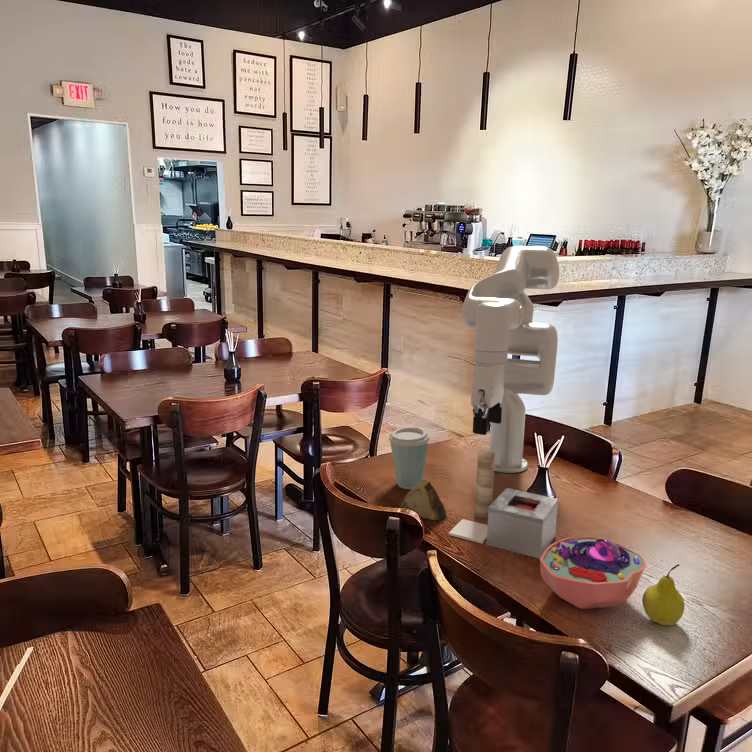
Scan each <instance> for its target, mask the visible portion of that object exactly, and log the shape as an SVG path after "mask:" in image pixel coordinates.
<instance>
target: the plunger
mask: <svg viewBox="0 0 752 752" xmlns="http://www.w3.org/2000/svg"><path fill="white" fill-rule="evenodd" d="M513 507H517V508H522V509H526V510H531V511H534V508H532V507H531V506H528V505H515V506H513Z"/></svg>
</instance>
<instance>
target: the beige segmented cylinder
mask: <svg viewBox="0 0 752 752" xmlns="http://www.w3.org/2000/svg"><path fill="white" fill-rule="evenodd" d="M494 463H495V452H494V451H492V450H490V449H480V450H478V451H477V467H476V468H477V469H476V485H475V502H474V503H475V506H474V516H475V517H477V518H480V519H488V508H489V506H490V505H491V504H492V503H493V497H494V481H495V480H494V478H495V471H494Z"/></svg>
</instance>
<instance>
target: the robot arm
mask: <svg viewBox="0 0 752 752" xmlns="http://www.w3.org/2000/svg"><path fill="white" fill-rule="evenodd" d="M558 261H559V260H558V258H557V255H556V253H555V252H554V250H553V248H550V247H548V246H543V245H542V246H541V245H539V246H536V245H535V246H534V245H533V246H532V245H513V246H510V247H509V246H508V247H507V248H506V249H504V250H503V252H502V253H501V255H500V256H499V259H498V262H497V263H496V264H497V265H496V268H495V270H494V273H493V274H490V275H488V276H486V277H483V278H481V279H480V280H478V281H476V282H475V283H474V284H473V285H471V287H470V288H469V290H468V291H467V294H466V297H465V298H464V301H463V305H462V308H461V319H462V322H463V324H464V325H465V326H466V327H467V328H471V329H475V336H474V354H473V355H474V356H473V363H474V364H475V365H474V370H473V373H472V382H471V394H470V405H471V406H472V412H473V413H472V417H473V419H472V433H473V434H476V435H481V436H482V435H483V436H486V435H487V434H488V423H490V430H489V432H490V434H489V450H492V451H494V452H495V463H494V472H496V473H505V474H506V473H507V474H514V473H515V474H516V473H520V472H524V471H525V470H527V469H528V461H527V460H526V459H525V458H523V455H524V454H523V453H524V439H525V423H526V407H525V406H526V405H525V402H524V401H523V399H522V398H521V396H520V395H522V394H523V395H532V396H547V395H549V394H551V392H552V391H553V388H554V383H555V374H556V365H557V364H556V363H557V356H558V355H557V354H558V340H559V339H558V331H557V329H556V327H555V326H554V325H552V324H550V323H547V322H546V323H545V322H544V323H543V322H533V316H534V309H535V308H534V304H533V302H532V301H531V299H530V297H529V295H528V294H526V292H525V290H526V289H529V290H530V289H531V290H551V289H555V287H556V286H557V285H558V282H559V280H560V265H559V262H558ZM509 355H511V356H522V357H523V356H524V357H536V358H538V359H539V360H532V359H524V358H523V359H522V358H511V357H510V358H508V356H509Z"/></svg>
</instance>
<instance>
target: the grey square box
mask: <svg viewBox="0 0 752 752" xmlns="http://www.w3.org/2000/svg"><path fill="white" fill-rule="evenodd" d="M558 504H559V499H558V498H556V497H550V496H546V495H541V494H536V493H532V492H527V491H522V490H517V489H513V488H509V487H506V488H505V489H504V490H503V491H502V492H501V493H500V494H499V495H498V496H497V498H496V499H494V500H493V501H492V504H491V505H490V506H489V508H488V518H487V525H488V527H487V539H486V546H489V547H494V548H497V549H501V550H505V551H509V552H513V553H516V554H520V555H524V556H528V557H532V558H534V559H535V558H536V559H539V560H540V558H541V556H542V555H543V553H544V551H545V550H546V548H547V547H548V546H550V545H551V544H552V541H554V540H553V539H555V536H556V531H557V521H558V520H557V519H558V518H557V517H558V509H559V508H558V506H559V505H558ZM515 505H528V506H531V507H532V508H534V511H531V510H526V509H522V508H517V507H513V506H515Z"/></svg>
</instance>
